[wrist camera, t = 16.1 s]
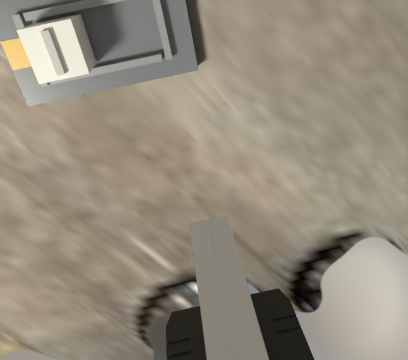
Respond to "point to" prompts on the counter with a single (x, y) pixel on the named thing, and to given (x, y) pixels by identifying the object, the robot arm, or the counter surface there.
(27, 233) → the counter surface
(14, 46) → the switch bank
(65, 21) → the cream cube
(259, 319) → the robot arm
